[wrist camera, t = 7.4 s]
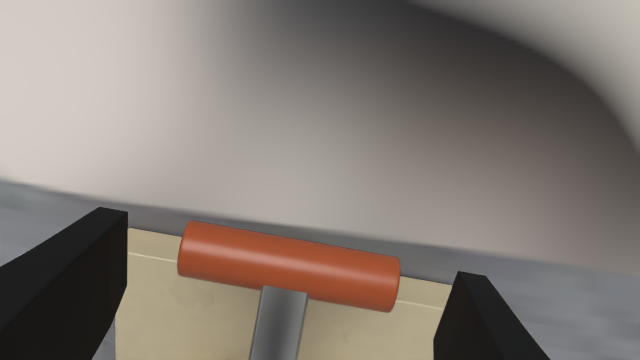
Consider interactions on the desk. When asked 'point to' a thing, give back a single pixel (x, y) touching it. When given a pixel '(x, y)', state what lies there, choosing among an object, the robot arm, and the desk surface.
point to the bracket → (240, 314)
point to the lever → (286, 279)
